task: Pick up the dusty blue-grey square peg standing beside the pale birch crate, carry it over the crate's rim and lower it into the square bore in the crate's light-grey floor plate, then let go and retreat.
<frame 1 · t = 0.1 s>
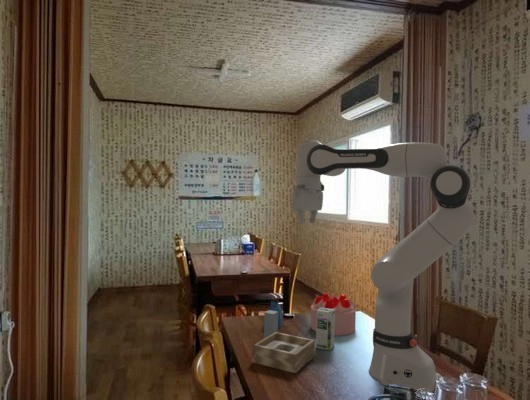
hand: (307, 223, 142), 48 cm above the table, fingers open, 8 cm apart
peg: (270, 342, 154), on the table
syrup box: (325, 347, 150), on the table
perfume bottle: (274, 325, 175), on the table
crate: (284, 359, 137), on the table
cake: (332, 329, 172), on the table
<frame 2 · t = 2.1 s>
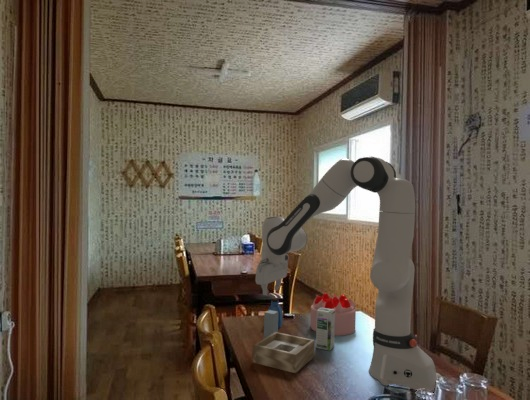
hand: (271, 292, 154), 20 cm above the table, fingers open, 8 cm apart
nothing on the table moved.
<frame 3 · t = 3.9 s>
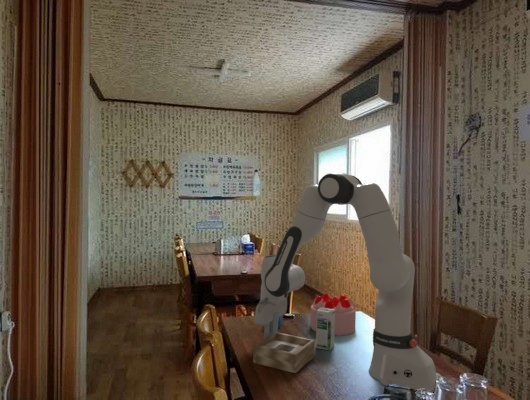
hand: (271, 330, 154), 5 cm above the table, fingers closed on peg, 4 cm apart
peg: (270, 342, 154), on the table, touching gripper
everything else where it was.
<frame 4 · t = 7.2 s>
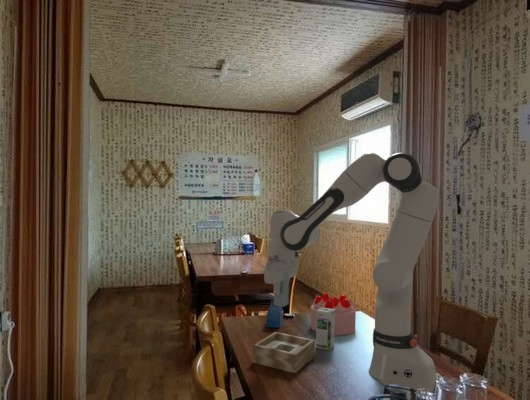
hand: (281, 292, 143), 22 cm above the table, fingers closed on peg, 4 cm apart
peg: (281, 304, 143), point 18 cm above the table, touching gripper
everything else where it was.
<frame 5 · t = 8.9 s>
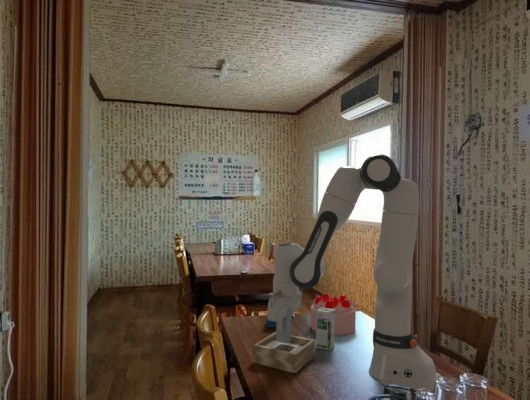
hand: (284, 327, 137), 11 cm above the table, fingers closed on peg, 4 cm apart
peg: (283, 340, 137), point 7 cm above the table, touching gripper
everything else where it was.
when the fingers open (6 cm above the table, at t = 10.3 s): peg drops 1 cm, resting in crate.
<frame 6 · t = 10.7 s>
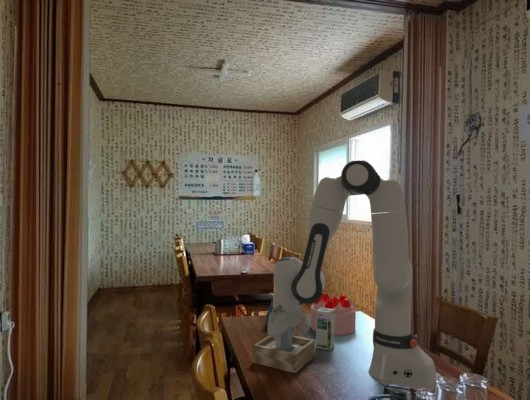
hand: (284, 342, 137), 6 cm above the table, fingers open, 8 cm apart
peg: (284, 359, 137), resting in crate
everything else where it was.
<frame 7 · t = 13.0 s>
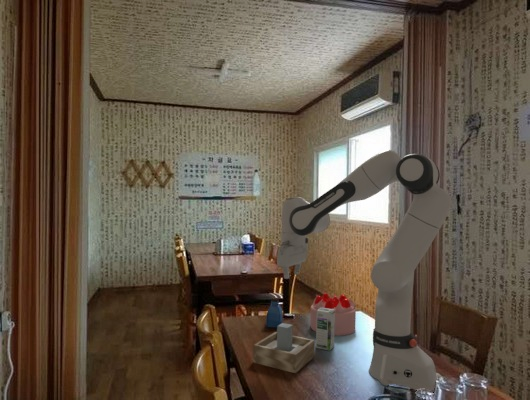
hand: (291, 276, 148), 27 cm above the table, fingers open, 8 cm apart
nothing on the table moved.
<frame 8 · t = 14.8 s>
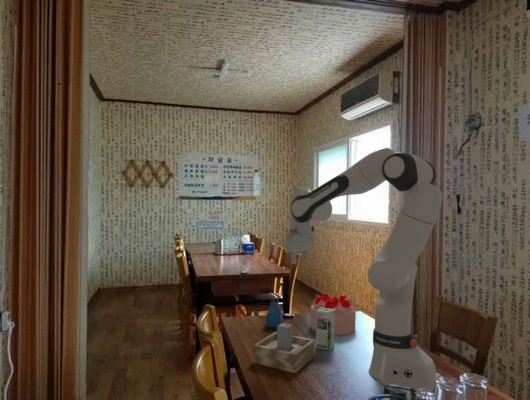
hand: (299, 262, 159), 31 cm above the table, fingers open, 8 cm apart
nothing on the table moved.
at the end: peg 0.0 cm off-centre on the crate, point 0.0 cm above the crate's base; peg tilted 0°; the gripper is holding nothing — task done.
